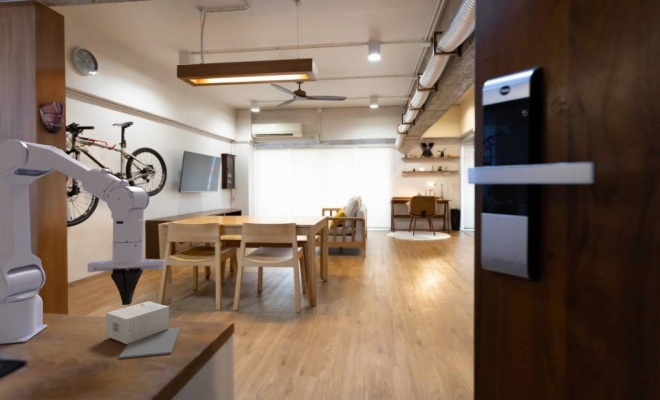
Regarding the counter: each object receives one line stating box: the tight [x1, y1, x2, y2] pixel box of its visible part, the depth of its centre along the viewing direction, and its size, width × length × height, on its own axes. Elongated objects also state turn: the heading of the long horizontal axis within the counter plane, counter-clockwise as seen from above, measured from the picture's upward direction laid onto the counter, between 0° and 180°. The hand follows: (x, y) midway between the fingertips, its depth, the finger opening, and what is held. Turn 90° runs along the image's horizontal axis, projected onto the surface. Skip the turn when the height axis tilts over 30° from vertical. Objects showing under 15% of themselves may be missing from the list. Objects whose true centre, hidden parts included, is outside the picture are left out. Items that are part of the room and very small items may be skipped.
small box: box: [105, 300, 170, 345], centre depth 81 cm, size 8×6×10 cm
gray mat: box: [118, 326, 181, 360], centre depth 77 cm, size 14×10×1 cm
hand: (127, 303), depth 76 cm, fingers closed
